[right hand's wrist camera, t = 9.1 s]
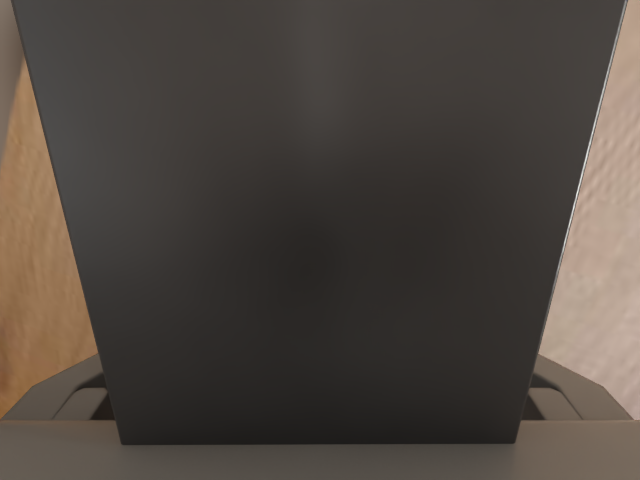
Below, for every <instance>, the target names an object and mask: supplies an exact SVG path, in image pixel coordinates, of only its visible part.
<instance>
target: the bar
mask: <svg viewBox="0 0 640 480" xmlns="http://www.w3.org/2000/svg"><path fill="white" fill-rule="evenodd" d="M627 2H628V0H11V3H12V7H13V11H14V15H15V19H16V23H17V27H18V31H19V35H20V39H21V43H22V47H23V51H24V55H25V59H26V63H27V67H28V71H29V75H30V79H31V83H32V87H33V91H34V95H35V99H36V103H37V107H38V112H39V116H40V120H41V124H42V128H43V132H44V136H45V140H46V144H47V148H48V152H49V156H50V160H51V164H52V168H53V172H54V176H55V180H56V184H57V188H58V192H59V196H60V200H61V204H62V208H63V212H64V216H65V220H66V224H67V228H68V232H69V236H70V241H71V245H72V249H73V253H74V257H75V261H76V265H77V269H78V273H79V277H80V281H81V285H82V289H83V293H84V297H85V301H86V305H87V309H88V313H89V317H90V321H91V325H92V329H93V333H94V337H95V341H96V345H97V349H98V353H99V357H100V361H101V365H102V369H103V374H104V378H105V382H106V386H107V390H108V394H109V398H110V402H111V406H112V410H113V414H114V418H115V422H116V426H117V430H118V434H119V438H120V442H121V444H122V445H315V444H514V443H515V442H516V438H517V435H518V431H519V427H520V423H521V419H522V415H523V411H524V407H525V403H526V399H527V395H528V391H529V387H530V383H531V379H532V376H533V372H534V368H535V364H536V360H537V356H538V352H539V348H540V344H541V340H542V336H543V332H544V328H545V324H546V320H547V317H548V313H549V309H550V305H551V301H552V297H553V293H554V289H555V285H556V281H557V277H558V273H559V269H560V265H561V261H562V258H563V254H564V250H565V246H566V242H567V238H568V234H569V230H570V226H571V222H572V218H573V214H574V210H575V206H576V202H577V199H578V195H579V191H580V187H581V183H582V179H583V175H584V171H585V167H586V163H587V159H588V155H589V151H590V147H591V143H592V140H593V136H594V132H595V128H596V124H597V120H598V116H599V112H600V108H601V104H602V100H603V96H604V92H605V88H606V84H607V81H608V77H609V73H610V69H611V65H612V61H613V57H614V53H615V49H616V45H617V41H618V37H619V33H620V29H621V25H622V22H623V18H624V14H625V10H626V6H627Z"/></svg>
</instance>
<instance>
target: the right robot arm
mask: <svg viewBox="0 0 640 480" xmlns="http://www.w3.org/2000/svg"><path fill="white" fill-rule="evenodd" d="M0 480H640V420H634V419H633V418H632V417H631V416H630V415H629V414H628V413H627V412H626V411H625V409H624V408H623V407H622V406H621V405H620V404H619V403H618V402H617V401H616V400H615V399H614V398H613V397H612V396H611V395H610V394H609V392H608V391H607V390H606V389H605V388H604V387H603V386H601V385H599V384H597V383H595V382H593V381H591V380H589V379H587V378H585V377H583V376H581V375H579V374H577V373H575V372H573V371H571V370H569V369H567V368H565V367H563V366H561V365H559V364H557V363H555V362H553V361H551V360H549V359H547V358H545V357H543V356H542V355H540V354H538V356H537V360H536V364H535V368H534V372H533V376H532V379H531V383H530V387H529V391H528V395H527V399H526V403H525V407H524V411H523V415H522V419H521V423H520V427H519V431H518V435H517V438H516V442H515V443H514V444H315V445H122V444H121V442H120V438H119V434H118V430H117V426H116V422H115V418H114V414H113V410H112V406H111V402H110V398H109V394H108V390H107V386H106V382H105V378H104V374H103V369H102V365H101V361H100V357H99V353H98V354H96V355H94V356H92V357H90V358H88V359H86V360H84V361H82V362H80V363H78V364H76V365H74V366H72V367H70V368H68V369H66V370H64V371H62V372H60V373H58V374H56V375H54V376H52V377H50V378H48V379H46V380H44V381H42V382H40V383H38V384H36V385H34V386H32V387H31V388H30V389H29V391H28V392H27V393H26V394H25V395H24V396H23V397H22V398H21V399H20V400H19V401H18V402H17V403H16V404H15V405H14V406H13V407H12V408H11V409H10V410H9V411H8V412H7V413H6V414H5V415H4V416H3V417H2V419H1V420H0Z"/></svg>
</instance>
